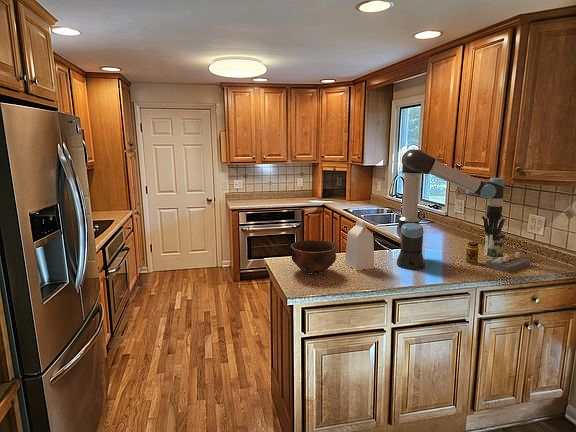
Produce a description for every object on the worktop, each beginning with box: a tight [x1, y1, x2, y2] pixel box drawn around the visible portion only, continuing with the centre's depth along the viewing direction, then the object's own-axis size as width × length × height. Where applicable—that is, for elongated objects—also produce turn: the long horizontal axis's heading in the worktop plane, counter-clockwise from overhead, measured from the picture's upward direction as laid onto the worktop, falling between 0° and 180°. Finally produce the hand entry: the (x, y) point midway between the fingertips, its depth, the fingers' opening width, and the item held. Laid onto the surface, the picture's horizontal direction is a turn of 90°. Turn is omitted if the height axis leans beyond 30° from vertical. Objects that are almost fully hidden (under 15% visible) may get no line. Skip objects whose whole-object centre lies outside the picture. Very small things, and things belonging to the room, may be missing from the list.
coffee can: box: [483, 232, 506, 259], centre depth 226 cm, size 10×10×14 cm
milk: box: [344, 219, 375, 271], centre depth 208 cm, size 12×12×26 cm
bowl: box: [290, 239, 338, 275], centre depth 201 cm, size 25×25×15 cm
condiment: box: [461, 241, 481, 266], centre depth 214 cm, size 7×8×12 cm
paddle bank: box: [497, 251, 521, 264], centre depth 208 cm, size 21×1×3 cm, turn 122°
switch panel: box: [484, 254, 532, 274], centre depth 208 cm, size 24×12×3 cm, turn 122°
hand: (491, 245), depth 215 cm, fingers closed
